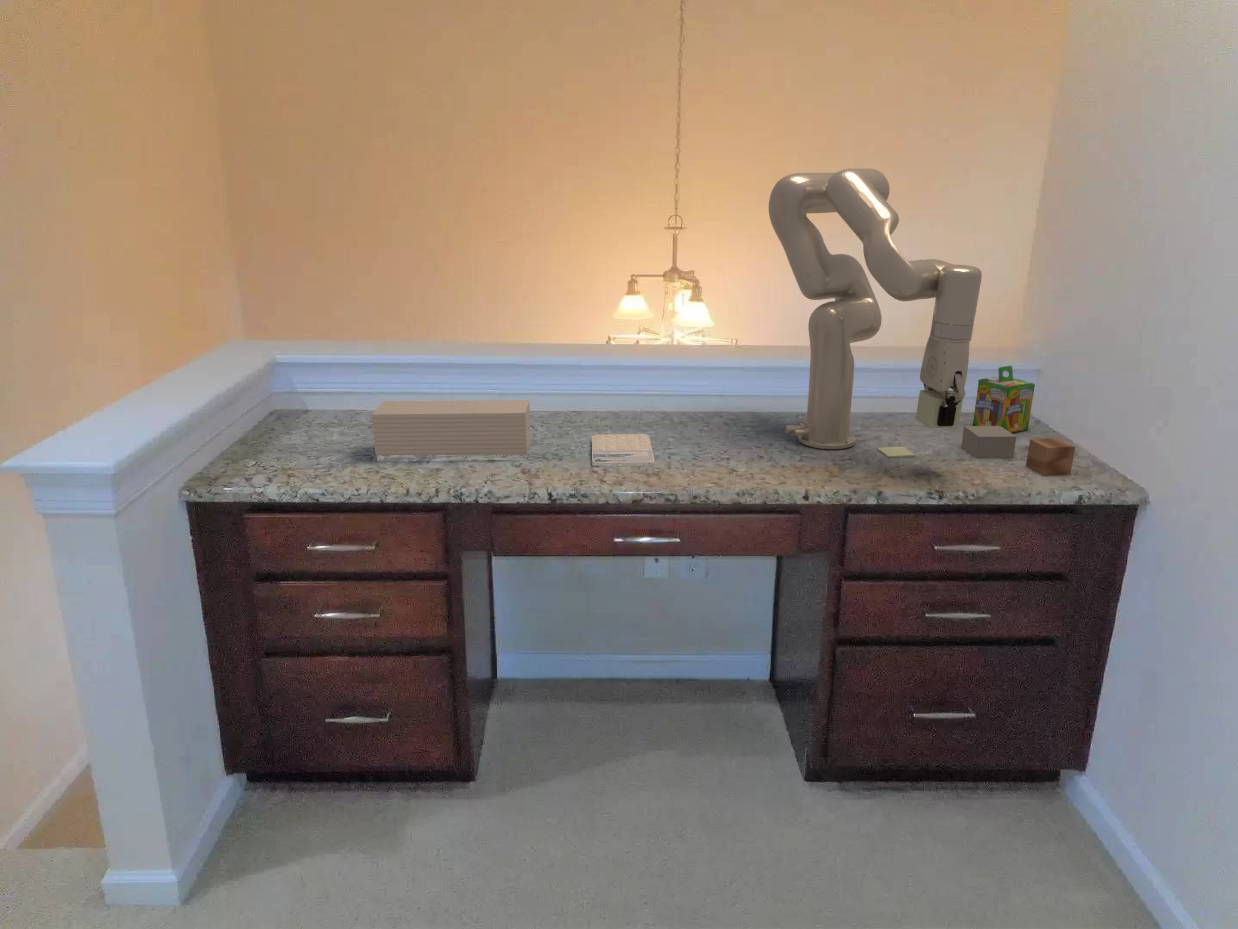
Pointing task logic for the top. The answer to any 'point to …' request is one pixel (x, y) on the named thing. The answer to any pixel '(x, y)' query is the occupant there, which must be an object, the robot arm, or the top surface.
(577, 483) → the top surface
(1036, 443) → the walnut block
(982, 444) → the base block
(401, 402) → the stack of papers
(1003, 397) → the chalk box
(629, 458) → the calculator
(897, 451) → the tile
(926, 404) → the sage block
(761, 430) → the top surface
